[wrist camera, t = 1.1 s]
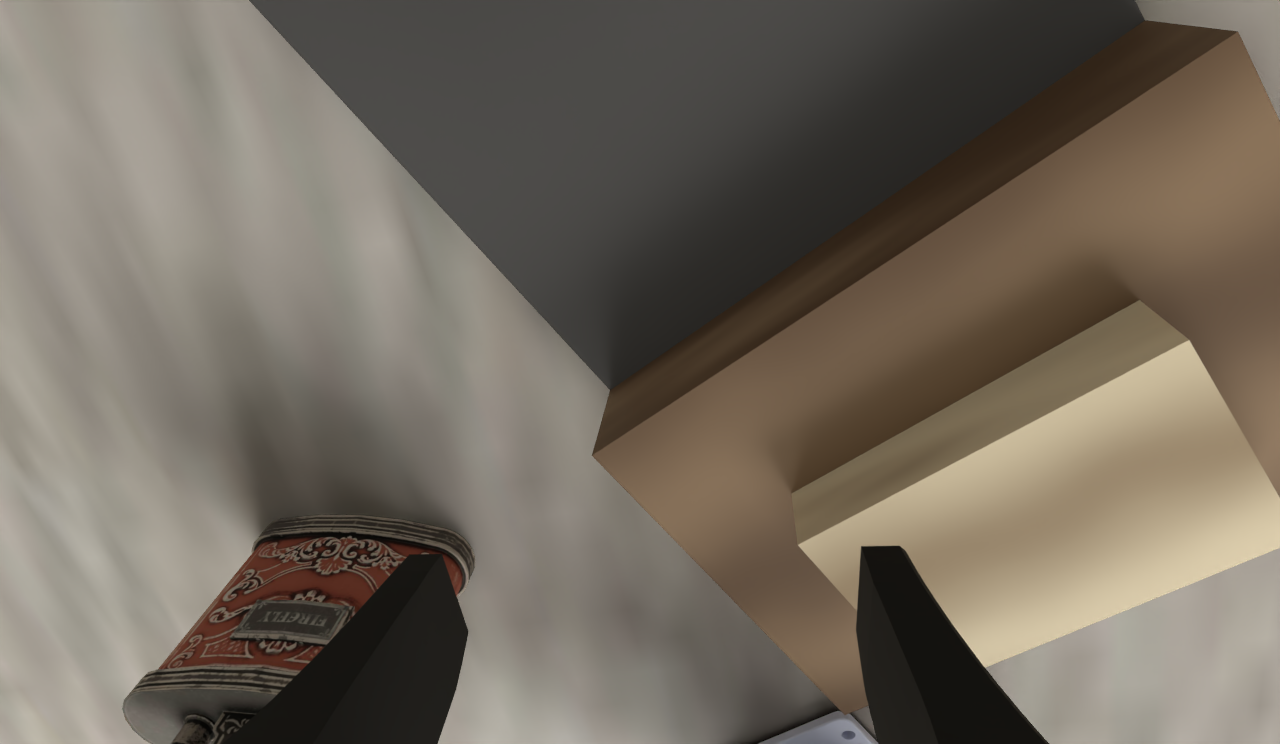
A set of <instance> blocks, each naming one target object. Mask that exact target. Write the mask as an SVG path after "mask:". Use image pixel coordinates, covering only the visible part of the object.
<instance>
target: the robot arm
mask: <svg viewBox="0 0 1280 744" xmlns="http://www.w3.org/2000/svg"><path fill="white" fill-rule="evenodd" d="M856 634H857V641H858V648H859V655H860V662H861V669H862V675H863V682H864V688H865V693H866V697H867V701H868V705H869V709H870V713H871V717H872V721H873V725H874V729H875V733H876V736H877V740H878V742H877V741H876V740H875V739H874V738H873V737H872V736H871V735H870V734H869V733H868V732H867V731H866V730H865V729H864V728H863V727H862V726H861V725H860V724H859V723H858V722H857V721H856V720H855V719H854V718H853V716H852V715H850V714H846V715H844V714H843V713H842V712H841V711H836V712H832V713H830V714H828V715H825V716H823V717H820V718H818V719H816V720H813V721H811V722H808V723H806V724H804V725H801V726H799V727H796V728H794V729H792V730H789V731H787V732H784V733H782V734H780V735H777V736H775V737H772V738H770V739H768V740H765V741H763V742H760V743H758V744H1049V743H1048V742H1047V741H1046V740H1045V739H1044V738H1043V736H1042V735H1041V734H1040V733H1039V732H1038V731H1037V730H1036V729H1035V728H1034V726H1033V725H1032V724H1031V723H1030V722H1029V721H1028V720H1027V718H1026V717H1025V716H1024V715H1023V714H1022V713H1021V711H1020V710H1019V709H1018V708H1017V707H1016V705H1015V704H1014V703H1013V702H1012V701H1011V699H1010V698H1009V697H1008V696H1007V695H1006V693H1005V692H1004V691H1003V690H1002V689H1001V687H1000V686H999V685H998V684H997V682H996V681H995V680H994V679H993V677H992V676H991V675H990V674H989V672H988V671H987V670H986V669H985V667H984V666H983V665H982V663H981V662H980V661H979V659H978V658H977V657H976V655H975V654H974V653H973V651H972V650H971V649H970V647H969V646H968V645H967V643H966V642H965V641H964V639H963V638H962V637H961V635H960V634H959V633H958V631H957V630H956V628H955V627H954V626H953V624H952V623H951V621H950V620H949V619H948V617H947V616H946V614H945V613H944V611H943V610H942V608H941V607H940V605H939V604H938V602H937V601H936V599H935V598H934V596H933V595H932V593H931V592H930V590H929V589H928V587H927V586H926V584H925V582H924V581H923V579H922V578H921V576H920V574H919V573H918V571H917V569H916V568H915V566H914V564H913V563H912V561H911V559H910V558H909V556H908V554H907V552H906V551H905V550H904V549H903V548H902V547H901V546H861V555H860V571H859V588H858V604H857V620H856ZM467 636H468V629H467V626H466V623H465V620H464V617H463V614H462V611H461V608H460V605H459V603H458V600H457V597H456V594H455V591H454V588H453V585H452V582H451V579H450V576H449V573H448V570H447V567H446V564H445V561H444V558H443V555H442V554H409V555H408V556H407V558H406V559H405V560H404V561H403V562H402V563H401V564H400V565H399V566H398V567H397V568H396V569H395V570H394V572H393V573H392V574H391V575H390V576H389V577H388V578H387V579H386V580H385V581H384V583H383V584H382V585H381V586H380V587H379V588H378V589H377V590H376V591H375V593H374V594H373V595H372V596H371V597H370V598H369V599H368V600H367V601H366V602H365V604H364V605H363V606H362V607H361V608H360V609H359V610H358V611H357V612H356V614H355V615H354V616H353V617H352V618H351V619H350V620H349V621H348V622H347V623H346V624H345V625H344V627H343V628H342V629H341V630H340V631H339V632H338V633H337V634H336V635H335V636H334V637H333V638H332V639H331V640H330V641H329V643H328V644H327V645H326V646H325V647H324V648H323V649H322V650H321V651H320V652H319V653H318V654H317V655H316V656H315V657H314V658H313V659H312V660H311V661H310V662H309V663H308V664H307V665H306V666H305V667H304V668H303V669H302V670H301V671H300V672H299V673H298V674H297V675H296V676H295V677H294V678H293V679H292V680H291V681H290V682H289V683H288V684H287V685H286V686H285V687H284V688H283V689H282V690H281V691H280V692H279V693H278V694H277V695H276V696H275V697H274V698H273V699H272V700H271V701H270V702H269V703H268V704H267V705H266V706H264V707H263V708H262V709H261V710H260V711H259V712H258V713H257V714H256V715H255V716H254V717H252V718H251V719H250V720H249V721H248V722H247V723H246V724H245V725H243V726H242V727H241V728H240V729H239V730H238V731H236V732H235V733H234V734H233V735H232V736H231V737H229V738H228V739H227V740H226V741H225V742H224V743H222V744H437V743H438V740H439V738H440V735H441V732H442V729H443V726H444V723H445V720H446V717H447V714H448V711H449V709H450V706H451V703H452V700H453V697H454V694H455V691H456V687H457V683H458V678H459V674H460V670H461V665H462V661H463V656H464V651H465V646H466V641H467Z"/></svg>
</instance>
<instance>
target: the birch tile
mask: <svg viewBox="0 0 1280 744" xmlns="http://www.w3.org/2000/svg"><path fill="white" fill-rule="evenodd" d="M792 503H793V511H794V519H795V527H796V535H797V544H798V546H799V547H800V548H801V549H802V550H803V551H804V553H805V554H806V555H807V556H808V557H809V558H810V559H811V560H812V562H813V563H814V564H815V565H816V566H817V567H818V568H819V569H820V570H821V572H822V573H823V574H824V575H825V576H826V577H827V578H828V579H829V580H830V582H831V583H832V584H833V585H834V586H835V587H836V588H837V589H838V590H839V592H840V593H841V594H842V595H843V596H844V597H845V598H846V599H847V600H848V602H849V603H850V604H851V605H852V606H853V607H854V608H855V609H856V610H857V604H858V588H859V571H860V555H861V546H901V547H902V548H903V549H904V550H905V551H906V552H907V554H908V556H909V558H910V559H911V561H912V563H913V564H914V566H915V568H916V569H917V571H918V573H919V574H920V576H921V578H922V579H923V581H924V582H925V584H926V586H927V587H928V589H929V590H930V592H931V593H932V595H933V596H934V598H935V599H936V601H937V602H938V604H939V605H940V607H941V608H942V610H943V611H944V613H945V614H946V616H947V617H948V619H949V620H950V621H951V623H952V624H953V626H954V627H955V628H956V630H957V631H958V633H959V634H960V635H961V637H962V638H963V639H964V641H965V642H966V643H967V645H968V646H969V647H970V649H971V650H972V651H973V653H974V654H975V655H976V657H977V658H978V659H979V661H980V662H981V663H982V665H983V666H984V667H988V666H990V665H993V664H995V663H998V662H1000V661H1003V660H1005V659H1008V658H1010V657H1012V656H1015V655H1017V654H1020V653H1022V652H1025V651H1027V650H1030V649H1032V648H1035V647H1037V646H1039V645H1042V644H1044V643H1047V642H1049V641H1052V640H1054V639H1057V638H1059V637H1062V636H1064V635H1067V634H1069V633H1071V632H1074V631H1076V630H1079V629H1081V628H1084V627H1086V626H1089V625H1091V624H1094V623H1096V622H1098V621H1101V620H1103V619H1106V618H1108V617H1111V616H1113V615H1116V614H1118V613H1121V612H1123V611H1126V610H1128V609H1130V608H1133V607H1135V606H1138V605H1140V604H1143V603H1145V602H1148V601H1150V600H1153V599H1155V598H1157V597H1160V596H1162V595H1165V594H1167V593H1170V592H1172V591H1175V590H1177V589H1180V588H1182V587H1184V586H1187V585H1189V584H1192V583H1194V582H1197V581H1199V580H1202V579H1204V578H1207V577H1209V576H1212V575H1214V574H1216V573H1219V572H1221V571H1224V570H1226V569H1229V568H1231V567H1234V566H1236V565H1239V564H1241V563H1243V562H1246V561H1248V560H1251V559H1253V558H1256V557H1258V556H1261V555H1263V554H1266V553H1268V552H1271V551H1273V550H1275V549H1278V548H1280V497H1279V495H1278V494H1277V492H1276V490H1275V489H1274V487H1273V485H1272V483H1271V482H1270V480H1269V478H1268V476H1267V475H1266V473H1265V471H1264V469H1263V468H1262V466H1261V464H1260V462H1259V461H1258V459H1257V457H1256V455H1255V454H1254V452H1253V450H1252V448H1251V447H1250V445H1249V443H1248V441H1247V440H1246V438H1245V436H1244V434H1243V433H1242V431H1241V429H1240V427H1239V426H1238V424H1237V422H1236V421H1235V419H1234V417H1233V415H1232V414H1231V412H1230V410H1229V408H1228V407H1227V405H1226V403H1225V401H1224V400H1223V398H1222V396H1221V394H1220V393H1219V391H1218V389H1217V387H1216V386H1215V384H1214V382H1213V380H1212V379H1211V377H1210V375H1209V373H1208V372H1207V370H1206V368H1205V366H1204V365H1203V363H1202V361H1201V359H1200V358H1199V356H1198V354H1197V352H1196V351H1195V349H1194V347H1193V346H1192V344H1191V342H1190V340H1189V339H1188V338H1186V337H1185V336H1184V335H1183V334H1181V333H1180V332H1179V331H1178V330H1176V329H1175V328H1174V327H1173V326H1171V325H1170V324H1169V323H1168V322H1166V321H1165V320H1164V319H1163V318H1161V317H1160V316H1159V315H1158V314H1156V313H1155V312H1154V311H1153V310H1151V309H1150V308H1149V307H1148V306H1146V305H1145V304H1144V303H1143V302H1141V301H1140V300H1139V301H1137V302H1135V303H1133V304H1131V305H1130V306H1128V307H1126V308H1124V309H1122V310H1121V311H1119V312H1117V313H1115V314H1113V315H1112V316H1110V317H1108V318H1106V319H1104V320H1103V321H1101V322H1099V323H1097V324H1095V325H1094V326H1092V327H1090V328H1088V329H1086V330H1085V331H1083V332H1081V333H1079V334H1077V335H1076V336H1074V337H1072V338H1070V339H1068V340H1067V341H1065V342H1063V343H1061V344H1059V345H1058V346H1056V347H1054V348H1052V349H1050V350H1049V351H1047V352H1045V353H1043V354H1041V355H1040V356H1038V357H1036V358H1034V359H1032V360H1031V361H1029V362H1027V363H1025V364H1024V365H1022V366H1020V367H1018V368H1016V369H1015V370H1013V371H1011V372H1009V373H1007V374H1006V375H1004V376H1002V377H1000V378H998V379H997V380H995V381H993V382H991V383H989V384H988V385H986V386H984V387H982V388H980V389H979V390H977V391H975V392H973V393H971V394H970V395H968V396H966V397H964V398H962V399H961V400H959V401H957V402H955V403H953V404H952V405H950V406H948V407H946V408H944V409H943V410H941V411H939V412H937V413H935V414H934V415H932V416H930V417H928V418H926V419H925V420H923V421H921V422H919V423H917V424H916V425H914V426H912V427H910V428H908V429H907V430H905V431H903V432H901V433H899V434H898V435H896V436H894V437H892V438H890V439H889V440H887V441H885V442H883V443H881V444H880V445H878V446H876V447H874V448H873V449H871V450H869V451H867V452H865V453H864V454H862V455H860V456H858V457H856V458H855V459H853V460H851V461H849V462H847V463H846V464H844V465H842V466H840V467H838V468H837V469H835V470H833V471H831V472H829V473H828V474H826V475H824V476H822V477H820V478H819V479H817V480H815V481H813V482H811V483H810V484H808V485H806V486H804V487H802V488H801V489H799V490H797V491H795V492H793V493H792Z"/></svg>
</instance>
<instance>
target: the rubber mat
mask: <svg viewBox="0 0 1280 744" xmlns="http://www.w3.org/2000/svg"><path fill="white" fill-rule="evenodd" d="M249 1H250V2H251V3H252V4H253V5H254V6H255V7H256V8H257V9H258V10H259V11H260V13H261V14H262V15H263V16H264V17H265V18H266V19H267V20H268V21H269V22H270V23H271V24H272V26H273V27H274V28H275V29H276V30H277V31H278V32H279V33H280V34H281V35H282V36H283V37H284V38H285V40H286V41H287V42H288V43H289V44H290V45H291V46H292V47H293V48H294V49H295V50H296V51H297V53H298V54H299V55H300V56H301V57H302V58H303V59H304V60H305V61H306V62H307V63H308V64H309V65H310V67H311V68H312V69H313V70H314V71H315V72H316V73H317V74H318V75H319V76H320V77H321V78H322V79H323V81H324V82H325V83H326V84H327V85H328V86H329V87H330V88H331V89H332V90H333V91H334V92H335V94H336V95H337V96H338V97H339V98H340V99H341V100H342V101H343V102H344V103H345V104H346V105H347V106H348V108H349V109H350V110H351V111H352V112H353V113H354V114H355V115H356V116H357V117H358V118H359V119H360V120H361V122H362V123H363V124H364V125H365V126H366V127H367V128H368V129H369V130H370V131H371V132H372V133H373V135H374V136H375V137H376V138H377V139H378V140H379V141H380V142H381V143H382V144H383V145H384V146H385V147H386V149H387V150H388V151H389V152H390V153H391V154H392V155H393V156H394V157H395V158H396V159H397V160H398V162H399V163H400V164H401V165H402V166H403V167H404V168H405V169H406V170H407V171H408V172H409V173H410V174H411V176H412V177H413V178H414V179H415V180H416V181H417V182H418V183H419V184H420V185H421V186H422V187H423V188H424V190H425V191H426V192H427V193H428V194H429V195H430V196H431V197H432V198H433V199H434V200H435V201H436V203H437V204H438V205H439V206H440V207H441V208H442V209H443V210H444V211H445V212H446V213H447V214H448V215H449V217H450V218H451V219H452V220H453V221H454V222H455V223H456V224H457V225H458V226H459V227H460V228H461V230H462V231H463V232H464V233H465V234H466V235H467V236H468V237H469V238H470V239H471V240H472V241H473V242H474V244H475V245H476V246H477V247H478V248H479V249H480V250H481V251H482V252H483V253H484V254H485V255H486V256H487V258H488V259H489V260H490V261H491V262H492V263H493V264H494V265H495V266H496V267H497V268H498V269H499V271H500V272H501V273H502V274H503V275H504V276H505V277H506V278H507V279H508V280H509V281H510V282H511V283H512V285H513V286H514V287H515V288H516V289H517V290H518V291H519V292H520V293H521V294H522V295H523V296H524V298H525V299H526V300H527V301H528V302H529V303H530V304H531V305H532V306H533V307H534V308H535V309H536V310H537V312H538V313H539V314H540V315H541V316H542V317H543V318H544V319H545V320H546V321H547V322H548V323H549V324H550V326H551V327H552V328H553V329H554V330H555V331H556V332H557V333H558V334H559V335H560V336H561V337H562V339H563V340H564V341H565V342H566V343H567V344H568V345H569V346H570V347H571V348H572V349H573V350H574V351H575V353H576V354H577V355H578V356H579V357H580V358H581V359H582V360H583V361H584V362H585V363H586V364H587V366H588V367H589V368H590V369H591V370H592V371H593V372H594V373H595V374H596V375H597V376H598V377H599V378H600V380H601V381H602V382H603V383H604V384H605V385H606V386H607V387H608V388H609V389H610V390H611V389H613V388H614V387H616V386H617V385H618V384H620V383H621V382H623V381H624V380H626V379H627V378H629V377H630V376H631V375H633V374H634V373H636V372H637V371H639V370H640V369H642V368H643V367H644V366H646V365H647V364H649V363H650V362H652V361H653V360H655V359H656V358H657V357H659V356H660V355H662V354H663V353H665V352H666V351H668V350H669V349H670V348H672V347H673V346H675V345H676V344H678V343H679V342H681V341H682V340H684V339H685V338H686V337H688V336H689V335H691V334H692V333H694V332H695V331H697V330H698V329H699V328H701V327H702V326H704V325H705V324H707V323H708V322H710V321H711V320H712V319H714V318H715V317H717V316H718V315H720V314H721V313H723V312H724V311H725V310H727V309H728V308H730V307H731V306H733V305H734V304H736V303H737V302H738V301H740V300H741V299H743V298H744V297H746V296H747V295H749V294H750V293H751V292H753V291H754V290H756V289H757V288H759V287H760V286H762V285H763V284H764V283H766V282H767V281H769V280H770V279H772V278H773V277H775V276H776V275H777V274H779V273H780V272H782V271H783V270H785V269H786V268H788V267H789V266H791V265H792V264H793V263H795V262H796V261H798V260H799V259H801V258H802V257H804V256H805V255H806V254H808V253H809V252H811V251H812V250H814V249H815V248H817V247H818V246H819V245H821V244H822V243H824V242H825V241H827V240H828V239H830V238H831V237H832V236H834V235H835V234H837V233H838V232H840V231H841V230H843V229H844V228H845V227H847V226H848V225H850V224H851V223H853V222H854V221H856V220H857V219H858V218H860V217H861V216H863V215H864V214H866V213H867V212H869V211H870V210H871V209H873V208H874V207H876V206H877V205H879V204H880V203H882V202H883V201H884V200H886V199H887V198H889V197H890V196H892V195H893V194H895V193H896V192H898V191H899V190H900V189H902V188H903V187H905V186H906V185H908V184H909V183H911V182H912V181H913V180H915V179H916V178H918V177H919V176H921V175H922V174H924V173H925V172H926V171H928V170H929V169H931V168H932V167H934V166H935V165H937V164H938V163H939V162H941V161H942V160H944V159H945V158H947V157H948V156H950V155H951V154H952V153H954V152H955V151H957V150H958V149H960V148H961V147H963V146H964V145H965V144H967V143H968V142H970V141H971V140H973V139H974V138H976V137H977V136H978V135H980V134H981V133H983V132H984V131H986V130H987V129H989V128H990V127H991V126H993V125H994V124H996V123H997V122H999V121H1000V120H1002V119H1003V118H1005V117H1006V116H1007V115H1009V114H1010V113H1012V112H1013V111H1015V110H1016V109H1018V108H1019V107H1020V106H1022V105H1023V104H1025V103H1026V102H1028V101H1029V100H1031V99H1032V98H1033V97H1035V96H1036V95H1038V94H1039V93H1041V92H1042V91H1044V90H1045V89H1046V88H1048V87H1049V86H1051V85H1052V84H1054V83H1055V82H1057V81H1058V80H1059V79H1061V78H1062V77H1064V76H1065V75H1067V74H1068V73H1070V72H1071V71H1072V70H1074V69H1075V68H1077V67H1078V66H1080V65H1081V64H1083V63H1084V62H1085V61H1087V60H1088V59H1090V58H1091V57H1093V56H1094V55H1096V54H1097V53H1098V52H1100V51H1101V50H1103V49H1104V48H1106V47H1107V46H1109V45H1110V44H1112V43H1113V42H1114V41H1116V40H1117V39H1119V38H1120V37H1122V36H1123V35H1125V34H1126V33H1127V32H1129V31H1130V30H1132V29H1133V28H1135V27H1136V26H1138V25H1139V24H1140V23H1142V22H1143V21H1145V20H1144V18H1143V16H1142V14H1141V12H1140V10H1139V8H1138V6H1137V4H1136V2H1135V0H249Z"/></svg>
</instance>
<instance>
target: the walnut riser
mask: <svg viewBox="0 0 1280 744" xmlns="http://www.w3.org/2000/svg"><path fill="white" fill-rule="evenodd" d="M1139 300H1140V301H1141V302H1143V303H1144V304H1145V305H1146V306H1148V307H1149V308H1150V309H1151V310H1153V311H1154V312H1155V313H1156V314H1158V315H1159V316H1160V317H1161V318H1163V319H1164V320H1165V321H1166V322H1168V323H1169V324H1170V325H1171V326H1173V327H1174V328H1175V329H1176V330H1178V331H1179V332H1180V333H1181V334H1183V335H1184V336H1185V337H1186V338H1188V339H1189V340H1190V342H1191V344H1192V346H1193V347H1194V349H1195V351H1196V352H1197V354H1198V356H1199V358H1200V359H1201V361H1202V363H1203V365H1204V366H1205V368H1206V370H1207V372H1208V373H1209V375H1210V377H1211V379H1212V380H1213V382H1214V384H1215V386H1216V387H1217V389H1218V391H1219V393H1220V394H1221V396H1222V398H1223V400H1224V401H1225V403H1226V405H1227V407H1228V408H1229V410H1230V412H1231V414H1232V415H1233V417H1234V419H1235V421H1236V422H1237V424H1238V426H1239V427H1240V429H1241V431H1242V433H1243V434H1244V436H1245V438H1246V440H1247V441H1248V443H1249V445H1250V447H1251V448H1252V450H1253V452H1254V454H1255V455H1256V457H1257V459H1258V461H1259V462H1260V464H1261V466H1262V468H1263V469H1264V471H1265V473H1266V475H1267V476H1268V478H1269V480H1270V482H1271V483H1272V485H1273V487H1274V489H1275V490H1276V492H1277V494H1278V495H1279V497H1280V121H1279V119H1278V117H1277V114H1276V112H1275V110H1274V108H1273V106H1272V104H1271V102H1270V99H1269V97H1268V95H1267V93H1266V91H1265V89H1264V86H1263V84H1262V82H1261V80H1260V78H1259V76H1258V74H1257V71H1256V69H1255V67H1254V65H1253V63H1252V61H1251V59H1250V56H1249V54H1248V52H1247V50H1246V48H1245V46H1244V43H1243V41H1242V39H1241V37H1240V35H1239V33H1238V32H1237V31H1228V30H1220V29H1212V28H1203V27H1195V26H1187V25H1179V24H1170V23H1162V22H1154V21H1143V22H1142V23H1140V24H1139V25H1138V26H1136V27H1135V28H1133V29H1132V30H1130V31H1129V32H1127V33H1126V34H1125V35H1123V36H1122V37H1120V38H1119V39H1117V40H1116V41H1114V42H1113V43H1112V44H1110V45H1109V46H1107V47H1106V48H1104V49H1103V50H1101V51H1100V52H1098V53H1097V54H1096V55H1094V56H1093V57H1091V58H1090V59H1088V60H1087V61H1085V62H1084V63H1083V64H1081V65H1080V66H1078V67H1077V68H1075V69H1074V70H1072V71H1071V72H1070V73H1068V74H1067V75H1065V76H1064V77H1062V78H1061V79H1059V80H1058V81H1057V82H1055V83H1054V84H1052V85H1051V86H1049V87H1048V88H1046V89H1045V90H1044V91H1042V92H1041V93H1039V94H1038V95H1036V96H1035V97H1033V98H1032V99H1031V100H1029V101H1028V102H1026V103H1025V104H1023V105H1022V106H1020V107H1019V108H1018V109H1016V110H1015V111H1013V112H1012V113H1010V114H1009V115H1007V116H1006V117H1005V118H1003V119H1002V120H1000V121H999V122H997V123H996V124H994V125H993V126H991V127H990V128H989V129H987V130H986V131H984V132H983V133H981V134H980V135H978V136H977V137H976V138H974V139H973V140H971V141H970V142H968V143H967V144H965V145H964V146H963V147H961V148H960V149H958V150H957V151H955V152H954V153H952V154H951V155H950V156H948V157H947V158H945V159H944V160H942V161H941V162H939V163H938V164H937V165H935V166H934V167H932V168H931V169H929V170H928V171H926V172H925V173H924V174H922V175H921V176H919V177H918V178H916V179H915V180H913V181H912V182H911V183H909V184H908V185H906V186H905V187H903V188H902V189H900V190H899V191H898V192H896V193H895V194H893V195H892V196H890V197H889V198H887V199H886V200H884V201H883V202H882V203H880V204H879V205H877V206H876V207H874V208H873V209H871V210H870V211H869V212H867V213H866V214H864V215H863V216H861V217H860V218H858V219H857V220H856V221H854V222H853V223H851V224H850V225H848V226H847V227H845V228H844V229H843V230H841V231H840V232H838V233H837V234H835V235H834V236H832V237H831V238H830V239H828V240H827V241H825V242H824V243H822V244H821V245H819V246H818V247H817V248H815V249H814V250H812V251H811V252H809V253H808V254H806V255H805V256H804V257H802V258H801V259H799V260H798V261H796V262H795V263H793V264H792V265H791V266H789V267H788V268H786V269H785V270H783V271H782V272H780V273H779V274H777V275H776V276H775V277H773V278H772V279H770V280H769V281H767V282H766V283H764V284H763V285H762V286H760V287H759V288H757V289H756V290H754V291H753V292H751V293H750V294H749V295H747V296H746V297H744V298H743V299H741V300H740V301H738V302H737V303H736V304H734V305H733V306H731V307H730V308H728V309H727V310H725V311H724V312H723V313H721V314H720V315H718V316H717V317H715V318H714V319H712V320H711V321H710V322H708V323H707V324H705V325H704V326H702V327H701V328H699V329H698V330H697V331H695V332H694V333H692V334H691V335H689V336H688V337H686V338H685V339H684V340H682V341H681V342H679V343H678V344H676V345H675V346H673V347H672V348H670V349H669V350H668V351H666V352H665V353H663V354H662V355H660V356H659V357H657V358H656V359H655V360H653V361H652V362H650V363H649V364H647V365H646V366H644V367H643V368H642V369H640V370H639V371H637V372H636V373H634V374H633V375H631V376H630V377H629V378H627V379H626V380H624V381H623V382H621V383H620V384H618V385H617V386H616V387H614V388H613V389H611V390H610V393H609V397H608V400H607V404H606V407H605V411H604V414H603V418H602V422H601V425H600V429H599V432H598V436H597V440H596V443H595V447H594V450H593V454H592V456H593V457H594V458H595V459H596V460H597V461H598V462H599V463H600V464H601V465H602V466H603V467H604V468H605V469H606V470H607V471H608V472H609V474H610V475H611V476H612V477H613V478H614V479H615V480H616V481H617V482H618V483H619V484H620V485H621V486H622V487H623V488H624V489H625V490H626V491H627V492H628V493H629V494H630V495H631V496H632V497H633V498H634V499H635V500H636V501H637V502H638V503H639V504H640V505H641V506H642V507H643V508H644V509H645V510H646V511H647V513H648V514H649V515H650V516H651V517H652V518H653V519H654V520H655V521H656V522H657V523H658V524H659V525H660V526H661V527H662V528H663V529H664V530H665V531H666V532H667V533H668V534H669V535H670V536H671V537H672V538H673V539H674V540H675V541H676V542H677V543H678V544H679V545H680V546H681V547H682V548H683V549H684V550H685V552H686V553H687V554H688V555H689V556H690V557H691V558H692V559H693V560H694V561H695V562H696V563H697V564H698V565H699V566H700V567H701V568H702V569H703V570H704V571H705V572H706V573H707V574H708V575H709V576H710V577H711V578H712V579H713V580H714V581H715V582H716V583H717V584H718V585H719V586H720V587H721V588H722V590H723V591H724V592H725V593H726V594H727V595H728V596H729V597H730V598H731V599H732V600H733V601H734V602H735V603H736V604H737V605H738V606H739V607H740V608H741V609H742V610H743V611H744V612H745V613H746V614H747V615H748V616H749V617H750V618H751V619H752V620H753V621H754V622H755V623H756V624H757V625H758V626H759V627H760V629H761V630H762V631H763V632H764V633H765V634H766V635H767V636H768V637H769V638H770V639H771V640H772V641H773V642H774V643H775V644H776V645H777V646H778V647H779V648H780V649H781V650H782V651H783V652H784V653H785V654H786V655H787V656H788V657H789V658H790V659H791V660H792V661H793V662H794V663H795V664H796V665H797V666H798V668H799V669H800V670H801V671H802V672H803V673H804V674H805V675H806V676H807V677H808V678H809V679H810V680H811V681H812V682H813V683H814V684H815V685H816V686H817V687H818V688H819V689H820V690H821V691H822V692H823V693H824V694H825V695H826V696H827V697H828V698H829V699H830V700H831V701H832V702H833V703H834V704H835V706H836V707H837V708H838V709H839V710H840V711H841V712H842V713H843V714H844V715H846V714H849V713H851V712H854V711H856V710H859V709H861V708H863V707H866V706H868V701H867V697H866V693H865V688H864V682H863V675H862V669H861V662H860V655H859V648H858V641H857V634H856V620H857V610H856V609H855V608H854V607H853V606H852V605H851V604H850V603H849V602H848V600H847V599H846V598H845V597H844V596H843V595H842V594H841V593H840V592H839V590H838V589H837V588H836V587H835V586H834V585H833V584H832V583H831V582H830V580H829V579H828V578H827V577H826V576H825V575H824V574H823V573H822V572H821V570H820V569H819V568H818V567H817V566H816V565H815V564H814V563H813V562H812V560H811V559H810V558H809V557H808V556H807V555H806V554H805V553H804V551H803V550H802V549H801V548H800V547H799V546H798V544H797V535H796V527H795V519H794V511H793V503H792V493H793V492H795V491H797V490H799V489H801V488H802V487H804V486H806V485H808V484H810V483H811V482H813V481H815V480H817V479H819V478H820V477H822V476H824V475H826V474H828V473H829V472H831V471H833V470H835V469H837V468H838V467H840V466H842V465H844V464H846V463H847V462H849V461H851V460H853V459H855V458H856V457H858V456H860V455H862V454H864V453H865V452H867V451H869V450H871V449H873V448H874V447H876V446H878V445H880V444H881V443H883V442H885V441H887V440H889V439H890V438H892V437H894V436H896V435H898V434H899V433H901V432H903V431H905V430H907V429H908V428H910V427H912V426H914V425H916V424H917V423H919V422H921V421H923V420H925V419H926V418H928V417H930V416H932V415H934V414H935V413H937V412H939V411H941V410H943V409H944V408H946V407H948V406H950V405H952V404H953V403H955V402H957V401H959V400H961V399H962V398H964V397H966V396H968V395H970V394H971V393H973V392H975V391H977V390H979V389H980V388H982V387H984V386H986V385H988V384H989V383H991V382H993V381H995V380H997V379H998V378H1000V377H1002V376H1004V375H1006V374H1007V373H1009V372H1011V371H1013V370H1015V369H1016V368H1018V367H1020V366H1022V365H1024V364H1025V363H1027V362H1029V361H1031V360H1032V359H1034V358H1036V357H1038V356H1040V355H1041V354H1043V353H1045V352H1047V351H1049V350H1050V349H1052V348H1054V347H1056V346H1058V345H1059V344H1061V343H1063V342H1065V341H1067V340H1068V339H1070V338H1072V337H1074V336H1076V335H1077V334H1079V333H1081V332H1083V331H1085V330H1086V329H1088V328H1090V327H1092V326H1094V325H1095V324H1097V323H1099V322H1101V321H1103V320H1104V319H1106V318H1108V317H1110V316H1112V315H1113V314H1115V313H1117V312H1119V311H1121V310H1122V309H1124V308H1126V307H1128V306H1130V305H1131V304H1133V303H1135V302H1137V301H1139Z"/></svg>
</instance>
